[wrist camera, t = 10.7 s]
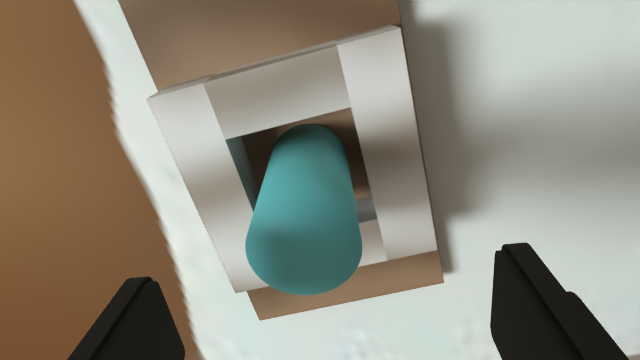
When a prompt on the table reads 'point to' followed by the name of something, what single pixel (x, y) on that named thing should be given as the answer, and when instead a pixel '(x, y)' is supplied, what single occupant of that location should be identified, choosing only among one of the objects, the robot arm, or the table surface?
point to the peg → (305, 215)
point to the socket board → (292, 125)
